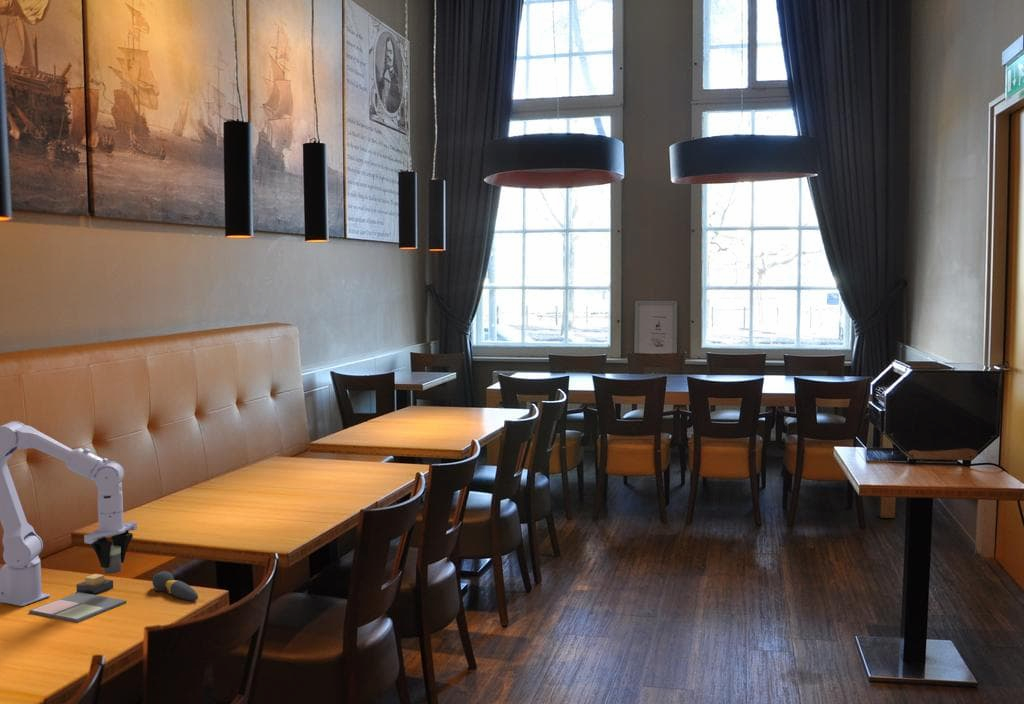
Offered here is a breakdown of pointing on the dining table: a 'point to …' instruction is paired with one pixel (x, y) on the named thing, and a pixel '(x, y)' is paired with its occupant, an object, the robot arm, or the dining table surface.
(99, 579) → the button
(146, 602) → the dining table surface
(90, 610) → the picture board
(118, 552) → the green lidded grey jar
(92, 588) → the button housing
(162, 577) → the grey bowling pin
